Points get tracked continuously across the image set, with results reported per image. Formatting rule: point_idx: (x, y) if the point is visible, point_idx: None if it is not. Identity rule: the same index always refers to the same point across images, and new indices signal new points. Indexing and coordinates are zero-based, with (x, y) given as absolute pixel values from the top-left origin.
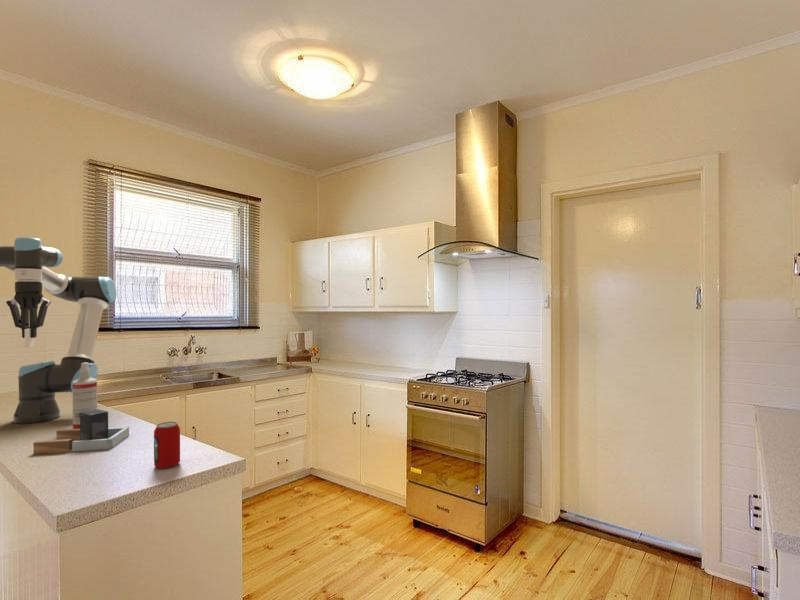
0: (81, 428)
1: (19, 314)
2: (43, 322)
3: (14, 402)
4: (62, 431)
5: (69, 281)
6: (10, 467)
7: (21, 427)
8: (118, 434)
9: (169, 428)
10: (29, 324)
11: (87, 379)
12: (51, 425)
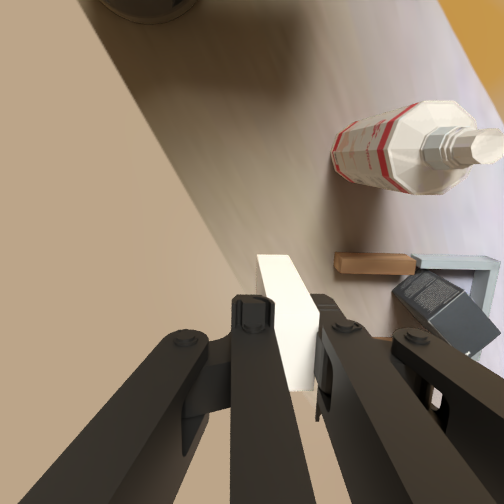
0: (412, 310)
1: (132, 478)
2: (465, 359)
3: None
4: (353, 273)
5: None
6: (321, 415)
7: (161, 77)
8: None
9: None
10: (325, 422)
11: (453, 171)
12: (243, 77)
